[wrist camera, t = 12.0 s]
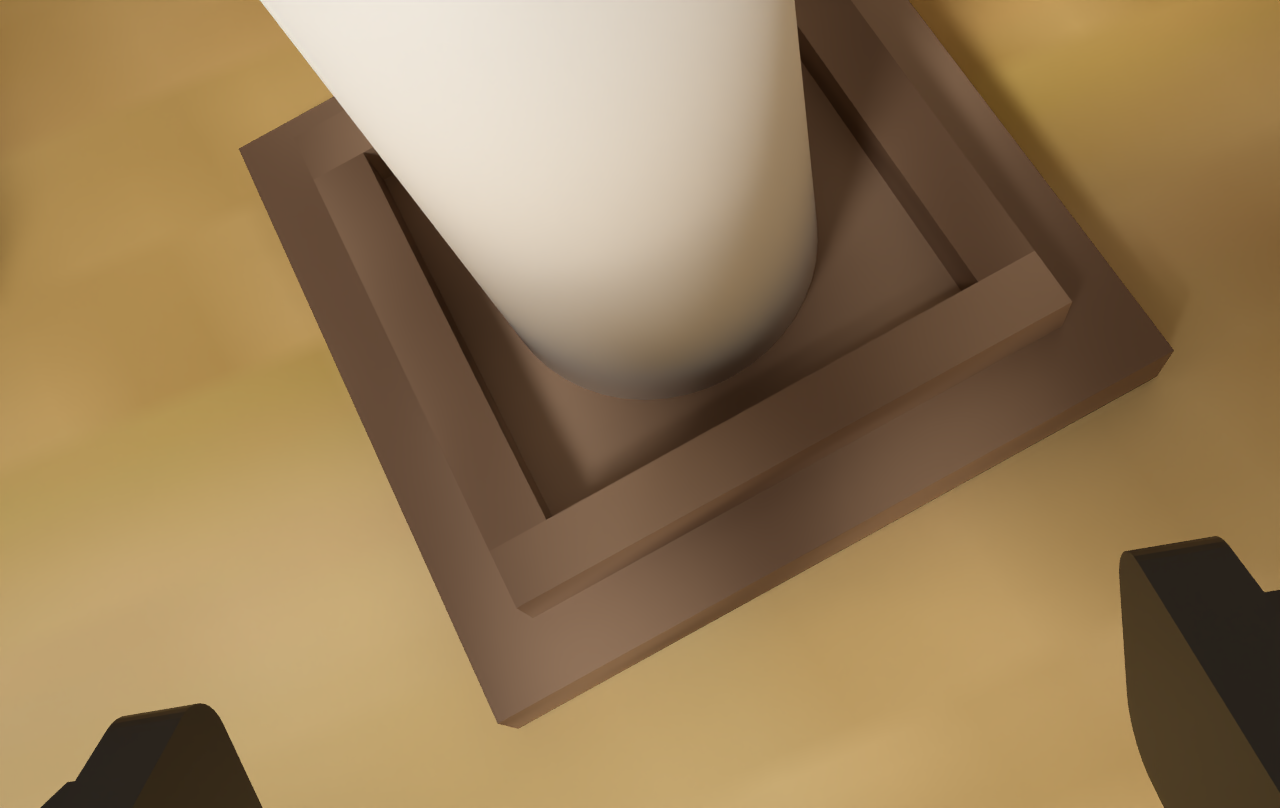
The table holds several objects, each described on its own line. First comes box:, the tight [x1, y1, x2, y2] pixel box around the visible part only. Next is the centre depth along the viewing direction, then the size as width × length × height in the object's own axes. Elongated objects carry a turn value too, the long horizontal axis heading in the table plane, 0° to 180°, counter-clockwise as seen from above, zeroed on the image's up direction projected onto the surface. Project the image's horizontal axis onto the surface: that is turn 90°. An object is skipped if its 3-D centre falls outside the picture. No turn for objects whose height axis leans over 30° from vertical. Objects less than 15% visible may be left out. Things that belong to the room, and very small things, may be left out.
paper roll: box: [260, 0, 818, 400], centre depth 15 cm, size 6×6×12 cm
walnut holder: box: [239, 0, 1174, 728], centre depth 16 cm, size 12×12×14 cm
